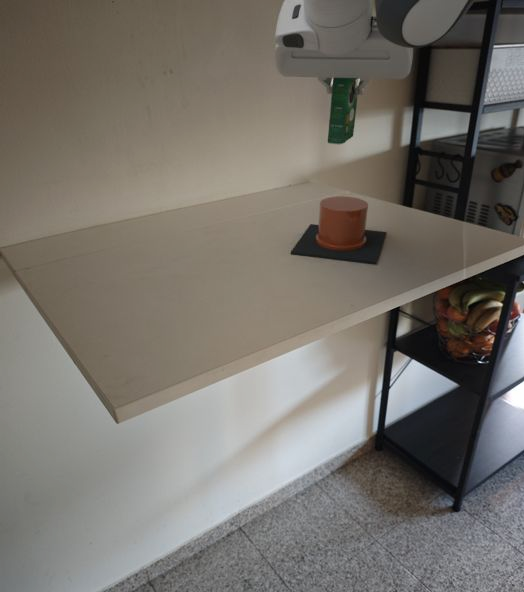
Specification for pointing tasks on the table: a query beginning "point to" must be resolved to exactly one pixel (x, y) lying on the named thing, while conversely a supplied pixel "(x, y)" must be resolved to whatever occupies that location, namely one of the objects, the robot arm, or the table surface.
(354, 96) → the coffee box
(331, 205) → the stand
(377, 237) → the mat
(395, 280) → the table surface
